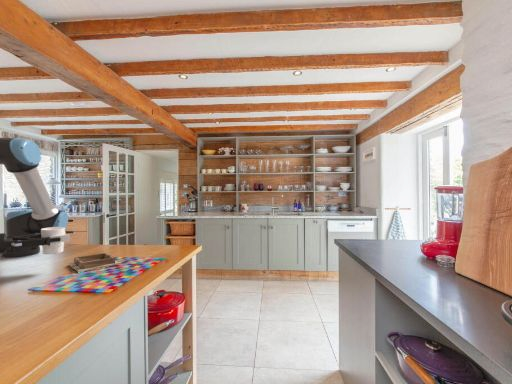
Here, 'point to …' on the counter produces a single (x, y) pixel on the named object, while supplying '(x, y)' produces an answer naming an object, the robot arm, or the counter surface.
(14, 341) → the counter surface
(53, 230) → the white cup
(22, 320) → the counter surface
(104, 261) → the cup holder
